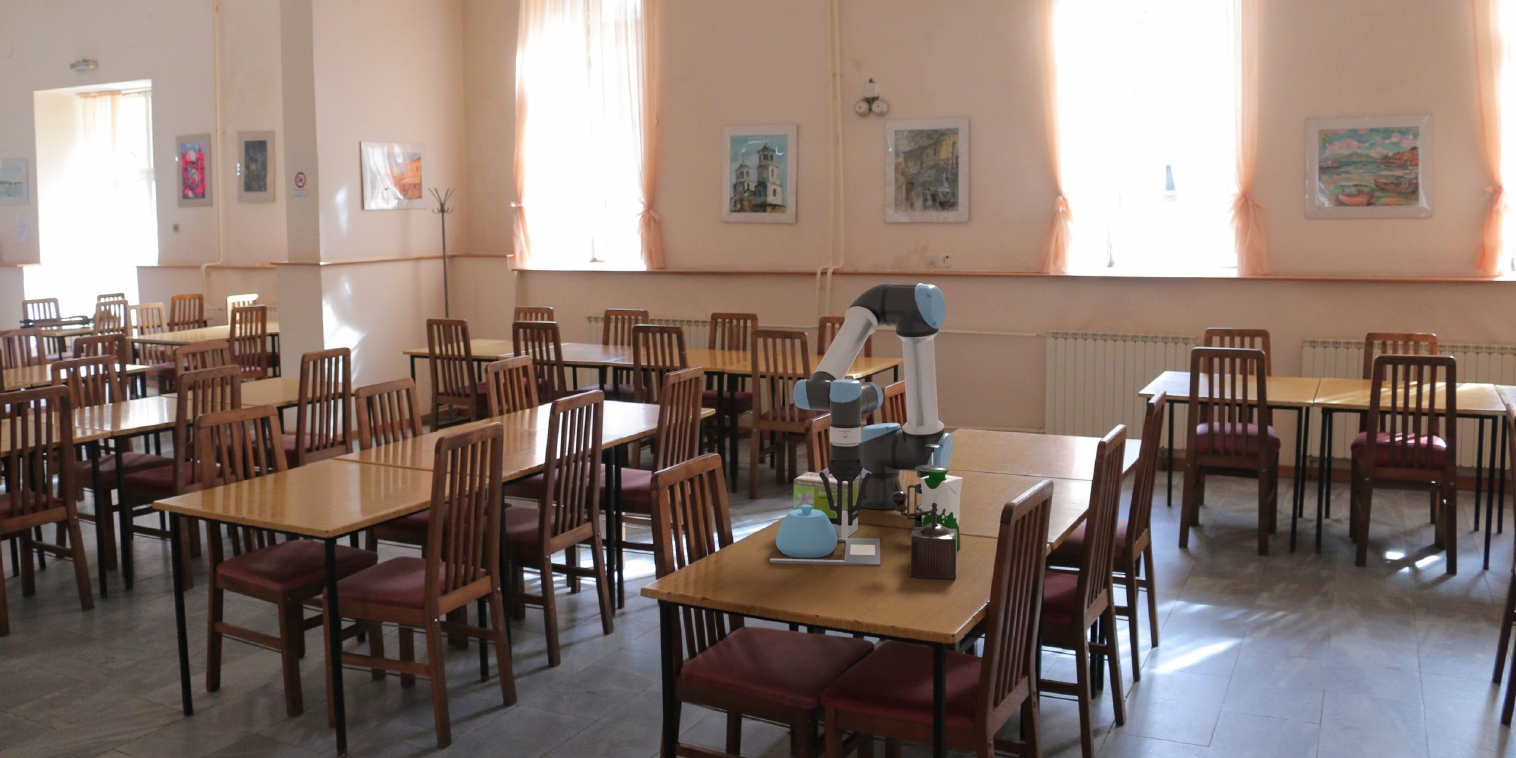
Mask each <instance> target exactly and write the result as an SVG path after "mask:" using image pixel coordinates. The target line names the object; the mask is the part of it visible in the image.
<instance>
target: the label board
mask: <svg viewBox="0 0 1516 758" xmlns="http://www.w3.org/2000/svg"><path fill="white" fill-rule="evenodd" d="M837 543H845V548H844V559H818V558H771V557H770V559H769V564H779V565H780V564H781V565H783V564H784V565H785V564H787V565H818V566H819V565H822V566H824V565H825V566H827V565H828V566H863V567H867V566H869V567H881V538H870V537H848V540H842V538H837Z"/></svg>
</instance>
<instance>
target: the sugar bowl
mask: <svg viewBox="0 0 1516 758" xmlns="http://www.w3.org/2000/svg"><path fill="white" fill-rule="evenodd" d="M800 507H801V509H797V510H790V511H789V512H788V513H787V514H786V516H785V517H784V518H783V520H782V522H781V523H780V526H779V527H778V530H777V533H776V537H775V545H776V547H777V549H778V550H779V551H780V552H781V553H782V554H783V555H785V556H788V557H791V558H795V559H818V558H823V557H826V556H829V555H831V554H832V553H833V551H834V550H835V549H836V548H837V546H838V542H837V537H836V533H835V530H834V527H833V525H832V524H831V522H830V520H829V519H828V517H827V516H826V514H825V513H824V512H823V511H820V510H815V509H812V508H813V506H812V505H801V506H800Z"/></svg>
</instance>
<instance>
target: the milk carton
mask: <svg viewBox="0 0 1516 758" xmlns="http://www.w3.org/2000/svg"><path fill="white" fill-rule="evenodd" d="M919 480H920V484H921V489H922V494H921V496H922V497H921V504H922V512H925V511H930V510H931V509H932V503H934V502H935V503H937V507H936V508H937V509H938V511H937V512H936V522H937V524H941V525H942V526H944V527H946V528H949V529H956V530H957V550H959V549H961V536H960V532H961V531H960V519H961V517H960V516H961V515H960V514H961V513H960V512H961V510H960V509H961V504H960V503H961V491H962V486H963V481H964V477H961V476H955V475H948V474H945V470H941V469H931V470H929V476H926V477H922V478H919ZM929 523H932V513H930V514H928V515H922V527H924V526H926V525H928V524H929Z"/></svg>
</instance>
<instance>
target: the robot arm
mask: <svg viewBox="0 0 1516 758" xmlns="http://www.w3.org/2000/svg"><path fill="white" fill-rule="evenodd" d="M946 313H947V310H946V301H945V297H944V295H943V292H942V291H941V290H940V288H938V286H936V285H935V284H934V285H933V284H929V283H928V284H927V283H925V284H924V283H922V282H920V283H892V282H887V283H886V282H885V283H880V284H876V285H874V286H872V287H870V288H868V289H866V290H865V291H863V292H862V293H861V294H860V295H859V296H858V297H857V298H855V299H854V300H853V301H852V302H851V304H850V305H849V306H848V308H847V310H846V311H845V314H844V322H843V324H842V325H841V327H840V329H839V331H838V332H837V334H836V335H835V337H834V339H833V341H832V342H831V343H830V346H829V347H828V349H827V350H826V352H825V354H824V355H823V356H822V359H821V361H820V362H819V364H818V365H817V367H816V368H815V370H814V372H813V374H812V375H811V377H810V378H809V379H807V378H805V379H800V380H797V382H796V383H795V384H794V387H793V391H792V394H793V395H792V397H793V401H794V405H795V406H796V407H797V408H799V409H802V410H810V411H822V412H829V413H830V414H829V415H830V416H829V418H830V419H829V420H830V422H829V442H830V443H831V444H830V445H829V462H828V464H827V467H825V468H824V469H822V470H820V471H819V472H818V473H819V476H820V477H821V479H822V480H823V483H824V487H825V491H826V495H827V499H828V503H829V507H830V510H833V511H836V512H837V525H838V526H842V540H848V538H849V537H848V526H852V524H853V512H855V511H858V512H859V511H860V510H861V508H863V509H872V510H893V509H896V508H897V506H896V505H895V503H894V502H893V501H892V500H891V496H892V494H894V493H895V492H897V491H903V492H905V491H904V487H903V484H902V481H901V476H900V473H901V472H900V471H905V472H911V473H917V470H915V467H917V466H920V465H932V453H931V448H927V447H925V445H929V444H935V445H940V446H941V447H940V448H935V449H934V453H933V465H941V466H946V467H948V466H949V463H950V461H951V458H952V453H953V449H954V447H953V446H954V440H953V436H952V434H951V433H948V432H945V423H943V422H942V421H941V420H939V408H938V392H937V391H938V389H937V374H936V371H937V370H936V358H935V357H936V356H935V355H936V354H935V341H934V338H935V337H936V336H937V334H939V331H940V330H939V329H940V328H941V327H943V326H944V324H945V322H946ZM883 326H884V327H885V326H887V327H895V335H896V336H897V337H898V338H899V339H900V340H901V344H902V346H901V347H902V360H903V373H904V374H903V376H904V391H905V405H906V407H905V408H906V420H907V421H906V422H905V423H904V424H903V425H902V426H901V424H900V423H898V422H887V423H886V422H884V423H876V424H874V423H873V424H870V425H866V426H864V427H862V415H863V416H864V415H866V414H871V413H873V412H875V411H876V410H878V409H879V408H880V407H881V406H882V404H883V401H884V392H883V390H882V388H881V387H880V386H879V385H878V384H877V383H875V382H872V381H867V382H866V381H863V382H860V380H858V379H852V378H846V375H848V373H849V371H850V369H851V367H852V366H853V364H854V362H855V360H856V358H857V357H858V355H859V353H860V352H861V350H862V348H863V346H864V345H865V344H866V341H867V340H868V338H869V336H870V335H872V334H874V333H876V331H877V330H878V328H879V327H883ZM901 428H902V429H901ZM829 474H832V475H833V477H834V478H835V479H836V480H837V505H835V504H834V500H833V495H832V491H831V487H830V483H829V479H828V477H829ZM856 477H859V492H858V497H857V501H856V505H854V506H853V481H854V480H855V479H856ZM843 481H847V482H848V511H842V482H843Z"/></svg>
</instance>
